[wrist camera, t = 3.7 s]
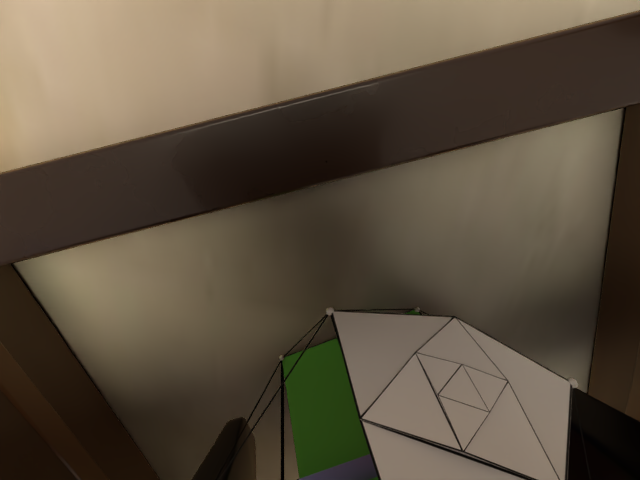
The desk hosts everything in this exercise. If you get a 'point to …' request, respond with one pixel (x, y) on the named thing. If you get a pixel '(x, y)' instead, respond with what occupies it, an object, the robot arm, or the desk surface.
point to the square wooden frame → (288, 176)
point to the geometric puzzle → (421, 404)
